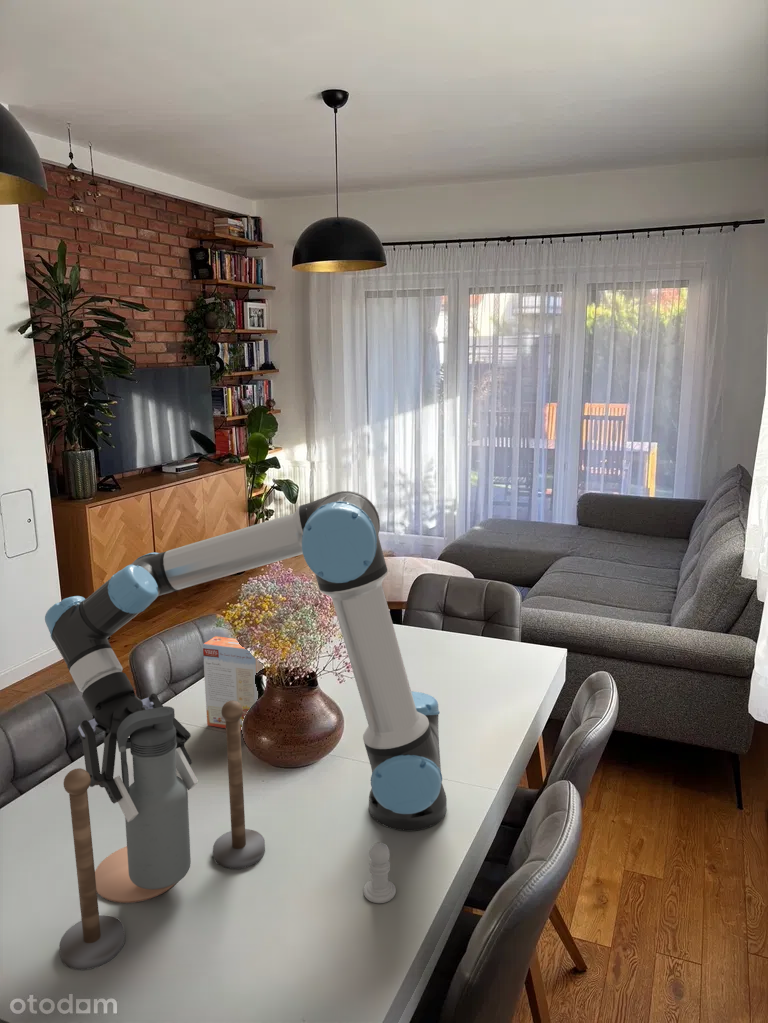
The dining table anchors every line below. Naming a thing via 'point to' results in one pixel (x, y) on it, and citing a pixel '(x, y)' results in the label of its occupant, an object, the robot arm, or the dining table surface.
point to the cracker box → (228, 678)
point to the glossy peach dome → (121, 881)
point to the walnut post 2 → (236, 803)
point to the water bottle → (155, 800)
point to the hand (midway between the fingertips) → (164, 801)
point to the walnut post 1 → (87, 890)
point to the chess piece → (379, 875)
